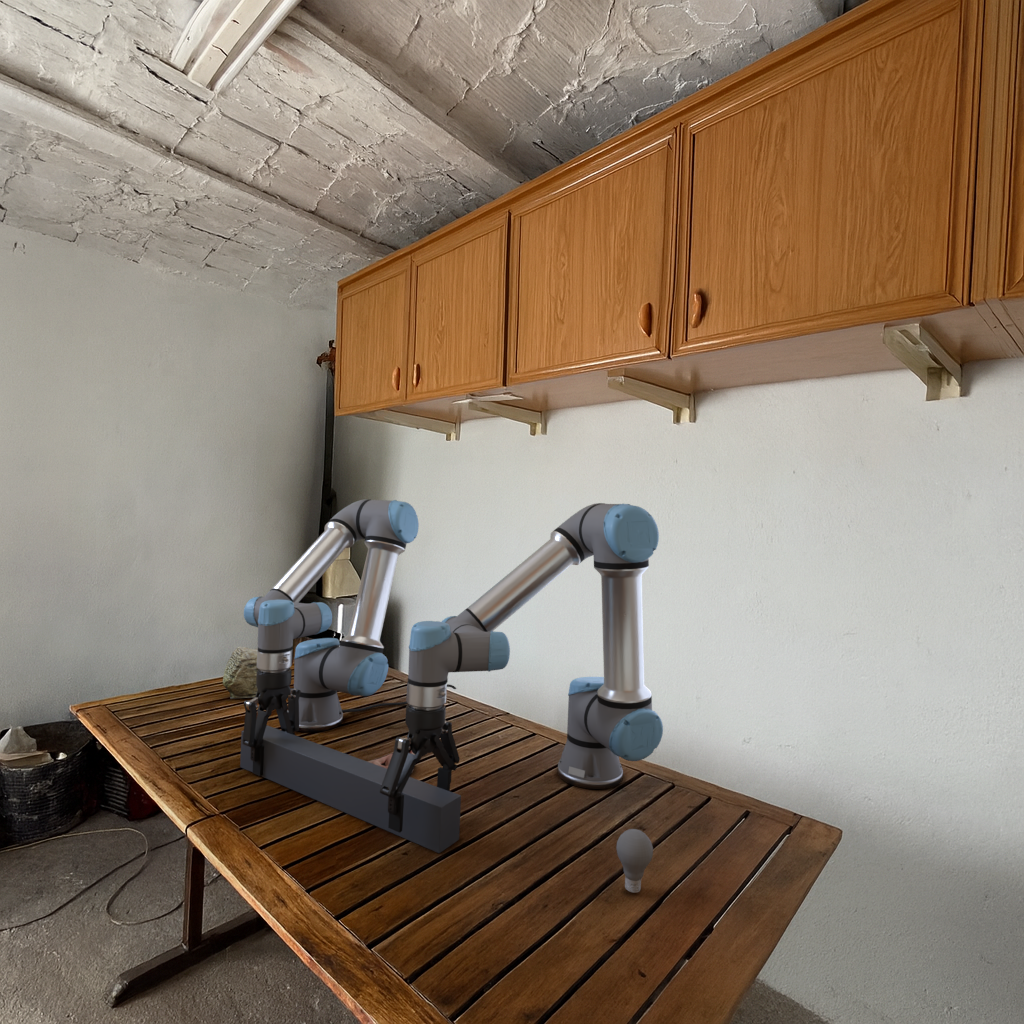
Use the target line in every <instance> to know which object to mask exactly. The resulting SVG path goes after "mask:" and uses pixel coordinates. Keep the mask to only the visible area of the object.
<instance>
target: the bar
mask: <svg viewBox="0 0 1024 1024" xmlns="http://www.w3.org/2000/svg"><path fill="white" fill-rule="evenodd" d="M243 732H244V729H243V730H241V733H240V734H241V735H240V758H239V760H240V762H239V763H240V764H239V768H241V769H244V770H246V771H248V772H250V773H253V761H252V760H251V758H250V757H251V747H249V746H246V745H244V744H243ZM261 745H262V746H264V760H263V775H262V776H261V777H262V778H264V779H267V780H269V781H272V782H274V783H276V784H278V785H281V786H282V787H285V788H286V789H287V788H288V789H289V790H292V791H294V792H297V793H298V794H301V795H304V796H306V797H308V798H311V799H312V800H315V801H317V802H320V803H322V804H325V805H327V806H329V807H331V808H333V809H336V810H338V811H340V812H343V813H345V814H347V815H349V816H352V817H354V818H357V819H359V820H361V821H363V822H366V823H368V824H370V825H373V826H375V827H377V828H379V829H382V830H384V831H386V832H388V833H391V834H394V835H396V836H398V837H401V838H402V839H405V840H408V841H409V842H412V843H413V844H416V845H418V846H421V847H423V848H426V849H427V850H429V851H431V852H435V853H437V854H440V853H442V852H443V851H445V850H447V849H448V848H449V847H451V846H452V845H454V844H455V843H456V842H458V841H459V840H460V827H461V810H462V809H461V806H462V805H461V803H462V795H461V794H459V793H456V792H452V791H451V790H450V791H447V790H444V789H442V788H439V787H437V785H434V784H430V783H428V782H425V781H422V780H419V779H417V778H414V777H412V776H410V777H409V779H408V781H407V783H406V785H405V787H404V789H403V791H402V793H401V794H402V795H404V808H403V826H402V831H401V832H400V833H399V832H397V831H394V830H392V829H390V828H388V825H389V813H388V796H386V795H384V794H381V793H380V788H381V786H382V783H383V780H384V777H385V774H386V771H387V769H386V768H384V767H381V766H378V765H375V764H373V763H370V762H368V761H367V760H364V759H361V758H359V757H356V756H353V755H350V754H347V753H345V752H342V751H339V750H338V749H337V750H336V749H333V748H331V747H328V746H325V745H323V744H320V743H317V742H314V741H312V740H309V739H306V738H303V737H301V736H298V735H296V734H295V735H292V734H290V733H287V732H284V731H281V729H279V728H276V727H273V726H271V725H268V724H267V725H266V729H265V732H264V736H263V739H262V743H261ZM396 789H397V787H396Z"/></svg>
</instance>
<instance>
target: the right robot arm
mask: <svg viewBox="0 0 1024 1024" xmlns="http://www.w3.org/2000/svg"><path fill="white" fill-rule="evenodd" d="M659 540H660V533H659V528H658V524H657V522H656V519H654V517H653V515H652V514H650V513H649V511H648V510H646V509H645V508H644V507H641V506H639V505H633V504H631V503H605V502H598V503H597V502H596V503H592V504H589V505H586V506H585V507H583V508H581V509H579V510H578V511H576V512H575V513H574V514H572V515H571V516H569V517H568V518H567V519H566V520H564V522H562V523H561V524H560V525H558V526H557V527H556V528H554V530H552V531H551V532H550V537H549V540H547V541H546V542H544V543H543V545H542V546H540V547H539V548H538V549H537V550H535V551H534V552H533V553H532V554H530V555H529V556H528V557H527V558H526V559H524V560H523V561H521V563H519V564H518V565H517V566H516V567H515V568H513V570H511V571H510V572H509V573H507V574H506V575H505V576H504V577H503V578H501V579H500V580H499V581H497V583H496V584H495V585H493V586H492V587H491V588H489V589H488V590H487V591H486V592H485V593H483V594H482V595H481V596H480V597H479V598H477V599H476V600H475V601H474V602H473V603H471V604H470V605H469V606H468V607H467V608H466V609H464V610H463V611H462V612H460V613H459V614H457V615H450V616H447V617H445V618H444V619H442V620H441V621H439V620H437V621H435V620H423V621H418V622H416V623H414V624H413V625H412V626H411V630H410V637H409V645H408V670H407V671H408V673H407V681H406V682H407V684H406V697H405V698H406V699H405V702H406V701H407V703H408V704H406V706H405V718H404V721H405V723H404V724H405V726H406V727H407V729H408V732H407V735H406V737H401V736H397V737H396V738H395V740H394V746H393V747H394V748H393V752H392V753H393V754H392V753H391V754H392V757H391V760H390V763H389V766H388V769H387V771H386V774H385V777H384V780H383V783H382V786H381V788H380V793H381V794H384V795H386V796H388V813H389V825H388V828H390V829H392V830H394V831H397V832H399V833H400V832H401V831H402V826H403V808H404V795H402V794H401V793H402V791H403V789H404V787H405V785H406V783H407V781H408V779H409V777H411V775H412V773H413V771H414V769H415V767H416V765H417V763H419V762H420V761H421V759H422V757H425V756H426V755H427V754H433V755H434V757H435V759H436V760H437V761H438V763H439V765H440V766H441V767H440V766H439V767H438V768H437V776H436V777H437V779H436V787H439V788H442V789H444V790H447V791H450V792H451V783H452V772H453V771H456V770H457V768H458V765H457V764H459V763H460V760H461V758H460V755H459V751H458V748H457V744H456V742H455V737H454V734H453V726H452V725H453V723H452V721H448V720H446V714H447V712H446V711H447V706H446V705H445V704H446V703H447V690H448V689H447V688H448V687H447V684H448V679H449V673H469V672H470V673H471V672H488V673H489V672H492V671H499V670H503V669H505V668H506V667H507V666H508V664H509V661H510V656H511V654H510V653H511V648H510V647H511V646H510V641H509V639H508V638H509V637H508V636H507V635H506V633H504V632H503V631H495V630H496V629H498V628H499V627H500V626H501V625H502V624H504V622H505V621H507V620H508V619H509V618H510V617H511V616H513V615H514V614H515V613H517V612H518V611H519V610H520V609H521V608H522V607H523V606H525V605H526V604H527V603H528V602H529V601H531V599H533V597H535V596H537V594H539V593H540V592H541V591H542V590H543V589H545V588H546V587H547V586H548V585H549V584H550V583H552V582H553V581H554V580H555V579H557V577H559V576H560V575H561V574H563V573H564V572H565V571H566V570H567V569H568V568H569V567H571V566H572V565H573V566H578V565H580V564H581V563H582V562H584V561H586V559H588V558H590V557H592V556H593V569H594V570H596V572H598V573H599V574H600V578H601V579H600V580H601V585H600V586H601V615H602V617H601V619H602V621H601V622H602V624H601V625H602V655H603V656H602V657H603V658H602V659H603V661H602V662H603V676H581V677H577V678H574V679H572V680H571V681H570V683H569V688H568V693H567V696H568V704H567V705H568V706H567V730H566V732H567V733H566V742H565V744H564V747H563V749H562V753H561V756H560V758H559V759H558V763H557V775H558V777H559V778H560V779H561V780H563V782H566V783H567V784H568V785H572V786H574V787H577V788H583V789H589V790H607V789H611V788H615V787H617V786H618V785H620V784H621V783H622V781H623V775H624V770H623V769H624V768H623V766H622V764H621V762H620V761H621V760H620V758H621V759H623V760H625V761H628V762H638V761H643V760H645V759H646V758H648V757H649V756H651V755H652V754H653V753H654V751H655V749H657V748H658V747H659V745H660V744H661V740H662V738H663V734H664V724H663V720H662V719H661V717H660V716H659V714H658V713H657V712H656V711H655V710H653V698H652V697H653V696H652V691H651V689H649V688H648V687H647V686H646V685H645V661H644V660H645V659H644V658H645V657H644V656H645V655H644V616H643V615H644V612H643V609H644V608H643V577H642V576H643V574H644V573H646V571H647V570H648V569H649V568H650V561H649V560H650V559H649V558H651V557H652V556H653V555H654V552H655V551H656V550H657V548H658V545H659V542H660V541H659ZM411 750H412V752H413V753H414V754H415V755H414V754H411V753H410V752H411ZM396 787H397V789H396Z"/></svg>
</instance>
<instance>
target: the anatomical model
mask: <svg viewBox="0 0 1024 1024" xmlns="http://www.w3.org/2000/svg"><path fill="white" fill-rule="evenodd" d="M410 753H411V754H414V753H413V752H412V750H411V752H410ZM392 754H393V752H392V753H390V754H387V755H384V756H381V757H378V758H376V759H371V760H368V761H367V762H370V763H373V764H375V765H378V766H381V767H384V768H386V769H388V766H389V763H390V760H391V757H392ZM414 755H416V754H414Z"/></svg>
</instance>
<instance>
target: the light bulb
mask: <svg viewBox="0 0 1024 1024" xmlns="http://www.w3.org/2000/svg"><path fill="white" fill-rule="evenodd" d="M615 849H616V854H617V857H618V859H619V861H620V863H621V865H622V867H623V873H624V874H623V875H624V876H625V878H624V888H625V890H627V891H628V892H630V893H634V894H635V893H639V892H640V891H641V889H642V887H641V886H642V879H643V877H644V875H645V871H646V868H647V867H648V866H649V864H650V863H651V861H652V859H653V855H654V847H653V843H652V841H651V838H649V836H648V835H647V834H646V833H645V832H643V831H642V830H641V829H636V828H629V829H627V830H625V831H623V832H622V833H621V834H620V835H619V837H618V839H617V841H616V847H615Z"/></svg>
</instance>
